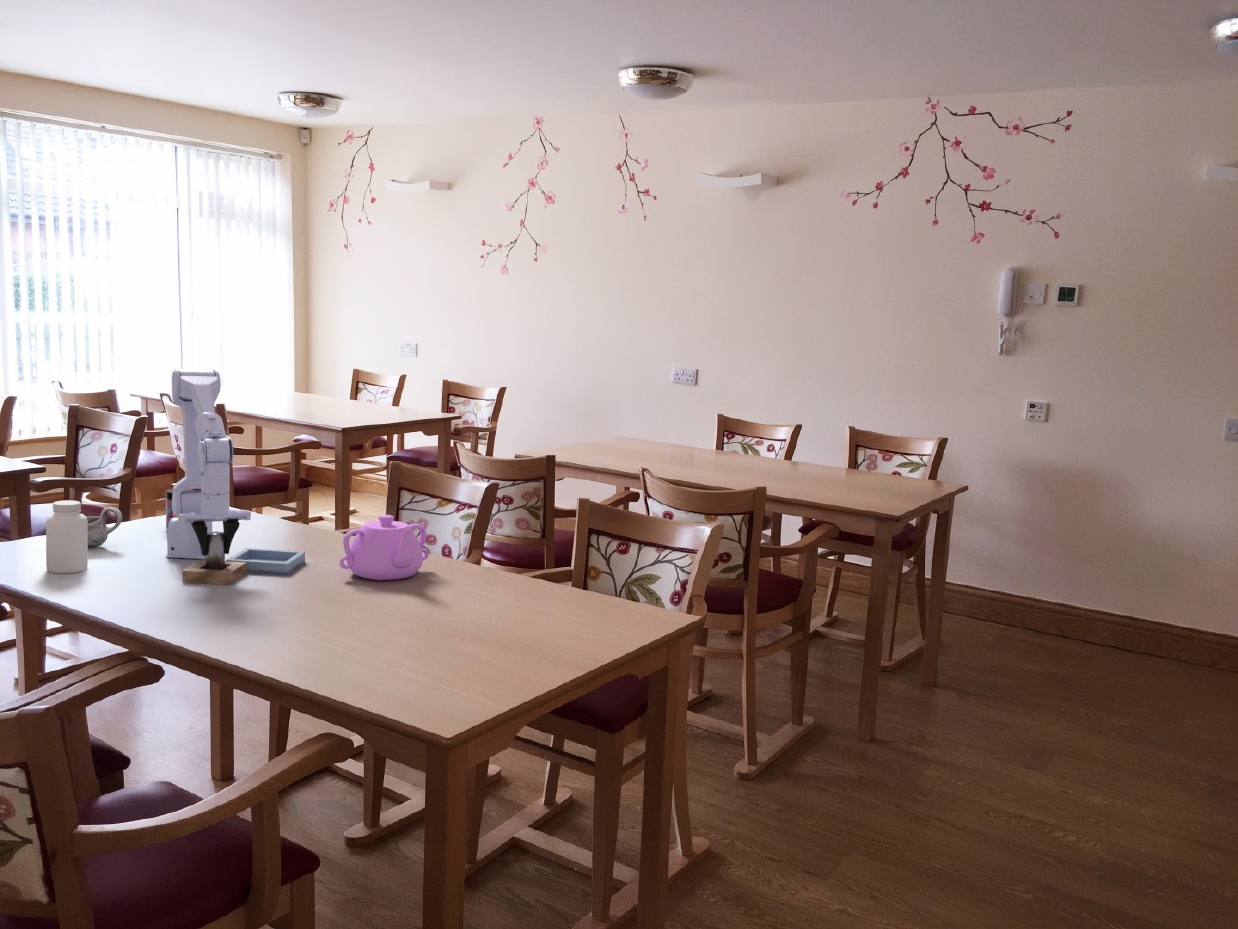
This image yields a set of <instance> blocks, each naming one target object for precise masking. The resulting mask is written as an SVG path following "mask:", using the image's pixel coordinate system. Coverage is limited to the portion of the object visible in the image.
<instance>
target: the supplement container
mask: <svg viewBox="0 0 1238 929" xmlns="http://www.w3.org/2000/svg"><path fill="white" fill-rule="evenodd" d="M183 491H195V489H185V490H183ZM172 495H173V488H171V489H169V488H168V489H166V490H165V529H166V530H167V529H168V524H169V522H170V520H171V519H172V518H175V516H174V515H173V511H172Z"/></svg>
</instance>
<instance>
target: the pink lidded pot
mask: <svg viewBox="0 0 1238 929" xmlns="http://www.w3.org/2000/svg"><path fill="white" fill-rule="evenodd" d="M394 519H395V516H394V515H392V514H381V515H378V520H373V521H368V522H365V523H364V524H363V525H362V526H361V527H360V528H353V529H350V530H349V531H347V532H346V533H345V534H344V536H343V538H342V539H343V540H342V542H343V543H342V544H343V548H344V553H345V555H346V556H341V557H340V559H339V562H338V564H339V567H340V568H341V569H344V570H349V569H350V571H351V572H353V574H354V575H355V576H358V577H361V578H364V579H369V580H373V581H385V580H389V581H390V580H398V579H399V580H401V579H406V578H409V577H412V576H414V575H415V574H416V573H417V572H419V570H420V569H421V568H422V566H423V564H424V561H425V560H427V559H428V558H429V556H430V555H429V553H430V552H429V551H428V549H427V548H425V547H424V546H425V543H426V538H427V530H426V529H425V527H424V526H423V525H421V524H419V523H409V524H407V523H405V522H403V521H396V520H394ZM415 529H418V530H419V532H420V535H419V540H418V538H417V536H416V535H415V534H416V533H414V530H415ZM353 535H355V536H354V537H353V539H352V541H351V543H350V538H351V537H352V536H353ZM345 561H346V563H345Z"/></svg>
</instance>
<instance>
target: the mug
mask: <svg viewBox="0 0 1238 929" xmlns="http://www.w3.org/2000/svg"><path fill="white" fill-rule="evenodd" d="M108 512H111V513H113V514H114V515H115V517H116V522H115V524H114V525H113V526H112V527H110V526H109V527H108V526H107V524H106V522H107V516H108ZM86 518H87V520H88V550H92V549H97V548H99V547H101V546H103V545H104V543H105V542H106V541H107V540H108V536H109V534H111V533H113V532H114V531H115V530H116V529H117V528H118V527H119V526H120V525H121V524H122V521H123V514H122V512H121V510H119V508H116V507H113V506H108V507H105V508H103V509H102V511H101V512H100V515H99V516H86Z"/></svg>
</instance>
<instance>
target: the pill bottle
mask: <svg viewBox="0 0 1238 929" xmlns="http://www.w3.org/2000/svg"><path fill="white" fill-rule="evenodd" d="M52 512H53V513H52V514H50V515H49V516H48V517H47V518H46V522H45V524H46V525H45V538H46V539H45V541H46V542H45V546H46V547H45V550H46V552H45V560H46V561H45V566H46V570H47V571H48V572H49V573H53V574H75V573H80V572H83V571H85V570H87V569H88V563H89V561H88V560H89V559H88V558H89V556H88V552H89V549H88V520H87V518H86V517H87V516H86V515H85V514H83V513H81V512H82V504H81V502H80V501H78V500H68V499H67V500H57V501H54V502H52Z"/></svg>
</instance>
